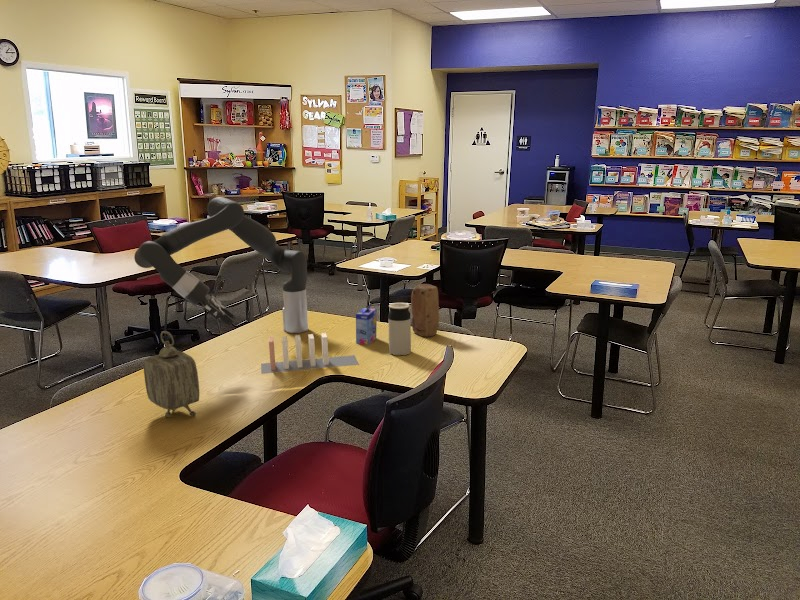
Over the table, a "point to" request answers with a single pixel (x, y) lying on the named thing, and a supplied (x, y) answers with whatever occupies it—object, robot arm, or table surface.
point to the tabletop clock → (171, 378)
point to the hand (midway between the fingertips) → (231, 320)
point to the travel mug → (399, 329)
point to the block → (425, 310)
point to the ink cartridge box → (366, 325)
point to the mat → (306, 365)
